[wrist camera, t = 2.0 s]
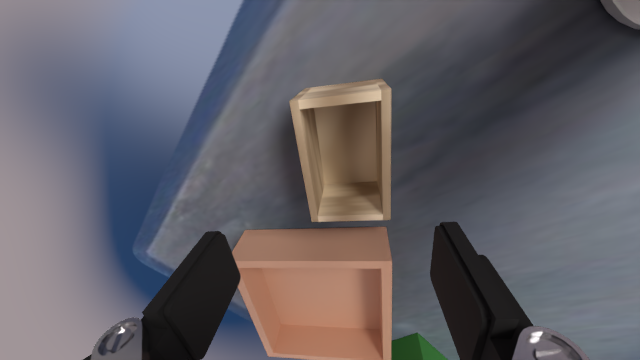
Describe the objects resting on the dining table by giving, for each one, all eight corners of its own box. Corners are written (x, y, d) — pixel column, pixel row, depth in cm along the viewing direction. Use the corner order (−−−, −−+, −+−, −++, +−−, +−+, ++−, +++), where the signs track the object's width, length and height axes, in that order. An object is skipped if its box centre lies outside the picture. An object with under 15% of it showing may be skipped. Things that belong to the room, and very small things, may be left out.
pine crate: (381, 78, 20) (391, 89, 15) (382, 183, 24) (390, 219, 19) (305, 88, 21) (289, 101, 16) (320, 186, 26) (311, 221, 20)
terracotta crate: (386, 226, 27) (392, 261, 22) (386, 326, 36) (391, 365, 31) (245, 229, 30) (226, 261, 25) (278, 321, 39) (268, 356, 34)
